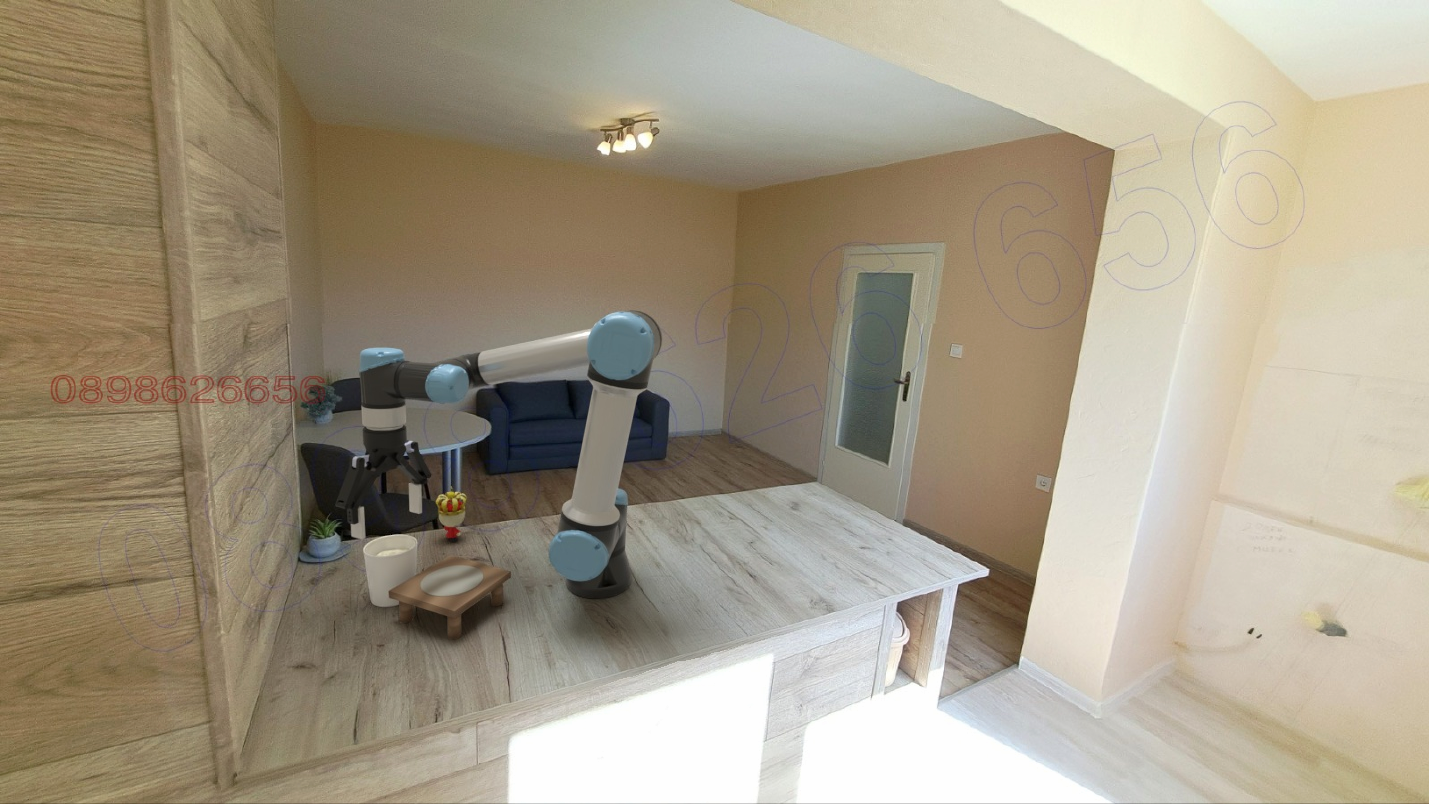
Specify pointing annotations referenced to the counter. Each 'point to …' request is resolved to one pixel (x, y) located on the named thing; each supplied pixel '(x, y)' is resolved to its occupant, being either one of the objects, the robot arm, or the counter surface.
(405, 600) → the footstool
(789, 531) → the counter surface
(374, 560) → the candle holder
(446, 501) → the toy
